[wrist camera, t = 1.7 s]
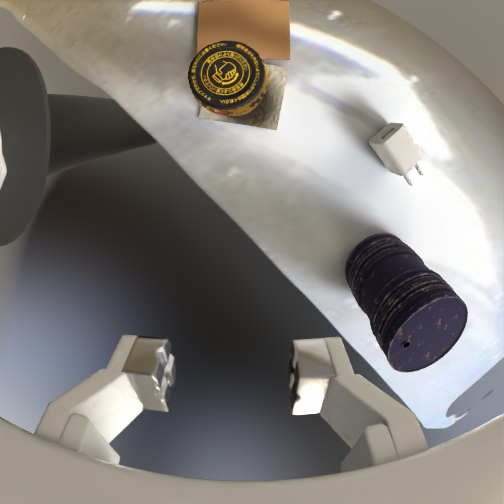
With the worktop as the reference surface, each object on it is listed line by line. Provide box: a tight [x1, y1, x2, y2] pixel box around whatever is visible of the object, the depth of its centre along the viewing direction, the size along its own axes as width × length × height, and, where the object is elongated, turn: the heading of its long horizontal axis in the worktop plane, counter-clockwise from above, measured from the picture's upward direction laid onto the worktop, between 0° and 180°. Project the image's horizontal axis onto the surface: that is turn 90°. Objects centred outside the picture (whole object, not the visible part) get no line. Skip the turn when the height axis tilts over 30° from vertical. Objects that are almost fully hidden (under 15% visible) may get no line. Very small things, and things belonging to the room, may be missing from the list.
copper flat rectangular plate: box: [197, 0, 290, 60], centre depth 23 cm, size 8×10×1 cm
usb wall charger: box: [369, 123, 423, 186], centre depth 28 cm, size 4×7×4 cm, turn 44°
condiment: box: [188, 41, 288, 130], centre depth 21 cm, size 7×8×12 cm
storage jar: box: [345, 233, 468, 372], centre depth 29 cm, size 10×10×15 cm
